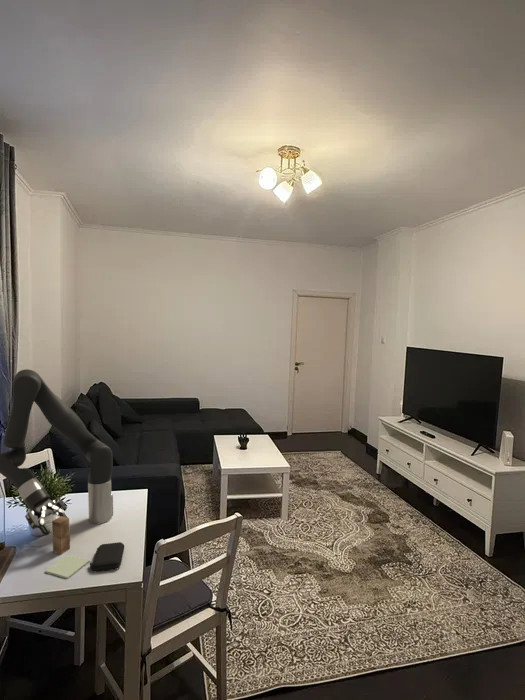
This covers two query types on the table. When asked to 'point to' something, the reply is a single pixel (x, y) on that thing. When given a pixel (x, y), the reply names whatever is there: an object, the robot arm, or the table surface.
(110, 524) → the table surface
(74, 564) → the sage mat
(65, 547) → the walnut handle block
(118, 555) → the carrying case or bag
